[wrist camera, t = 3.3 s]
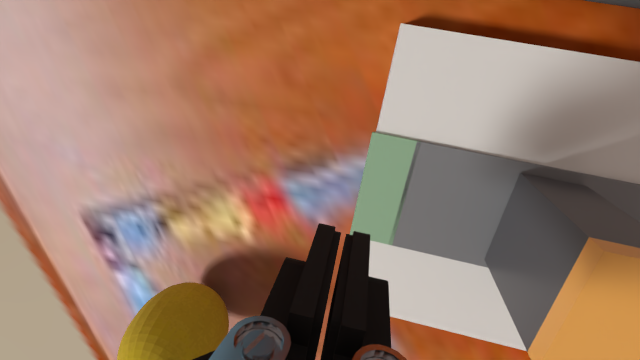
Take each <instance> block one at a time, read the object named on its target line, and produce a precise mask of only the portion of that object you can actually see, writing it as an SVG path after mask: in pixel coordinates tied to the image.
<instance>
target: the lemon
mask: <svg viewBox="0 0 640 360" xmlns="http://www.w3.org/2000/svg"><path fill="white" fill-rule="evenodd" d="M228 328H229V320H228V312H227V309H226V306H225V303H224V302H223V300H222V298H221V297H220V296H219V295H218V294H217V293H216V292H215V291H214V290H213V289H211V288H210V287H208V286H205V285H203V284H198V283H181V284H177V285H173V286H171V287H168V288H166V289H165V290H163V291H161V292H160V293H158V294H157V295H155V296H154V297H153V298H151V299H150V300H149V301H148V302H147V303H146V304H145V305H144V306H143V307H142V308H141V310H140V311H139V312H138V313H137V315H136V316H135V317H134V319H133V320H132V321H131V323H130V325H129V326H128V328H127V330H126V332H125V334H124V336H123V338H122V341H121V344H120V347H119V350H118V356H117V360H192V359H195V358H197V357H200V356H202V355H205V354H207V353H209V352H212V351H214V350H216V349H217V347H218V346H219V345H220V343H221V342H222V341H223V339H224V338H225V337H226V335H227V333H228Z"/></svg>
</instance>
